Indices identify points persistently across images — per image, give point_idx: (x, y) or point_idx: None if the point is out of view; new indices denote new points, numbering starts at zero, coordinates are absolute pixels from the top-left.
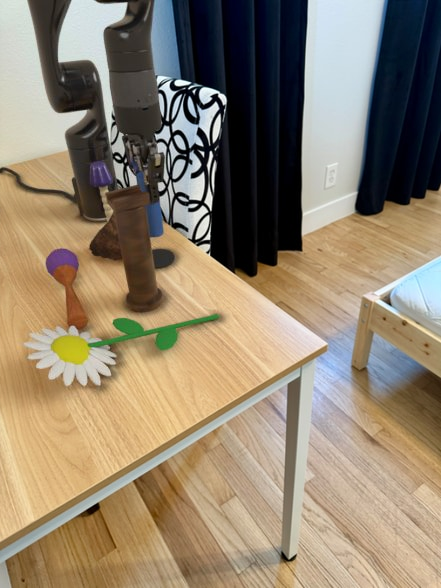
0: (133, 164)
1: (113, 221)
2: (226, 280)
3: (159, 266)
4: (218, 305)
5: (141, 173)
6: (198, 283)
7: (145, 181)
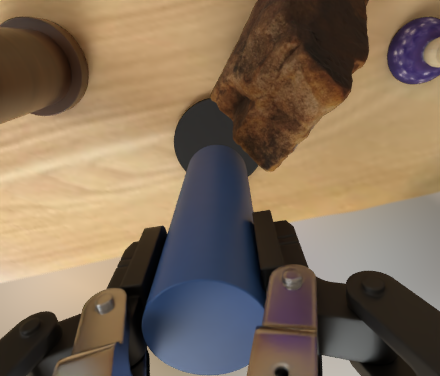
0: (256, 333)
1: (276, 46)
2: (84, 251)
3: (176, 138)
4: (2, 211)
5: (233, 312)
6: (88, 200)
7: (93, 304)
